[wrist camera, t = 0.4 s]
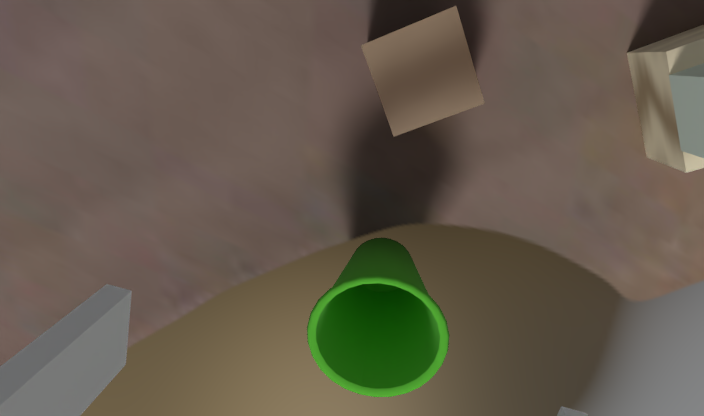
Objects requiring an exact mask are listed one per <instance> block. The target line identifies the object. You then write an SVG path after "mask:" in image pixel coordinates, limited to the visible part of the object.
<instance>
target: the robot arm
mask: <svg viewBox="0 0 704 416" xmlns="http://www.w3.org/2000/svg"><path fill="white" fill-rule="evenodd" d="M131 292H132V291H131V290H127V289H123V288H120V287H116V286H112V285H108V284H106V285H105V286H104V287H102V288H101V289H100V290H99V291H97V292H96V293H95V294H93V295H92V296H91V297H90V298H88V299H87V300H86V301H84V302H83V303H82V304H80V305H79V306H78V307H77V308H75V309H74V310H73V311H71V312H70V313H69V314H68V315H66V316H65V317H64V318H62V319H61V320H60V321H59V322H57V323H56V324H55V325H53V326H52V327H51V328H49V329H48V330H47V331H46V332H44V333H43V334H42V335H40V336H39V337H38V338H37V339H35V340H34V341H33V342H31V343H30V344H29V345H27V346H26V347H25V348H24V349H22V350H21V351H20V352H18V353H17V354H16V355H15V356H13V357H12V358H11V359H9V360H8V361H7V362H6V363H4V364H3V365H2V366H0V416H80V415H81V414H82V413H83V412H84V410H85V409H86V408H87V407H88V406H89V405H90V404H91V403H92V402H93V400H94V399H95V398H96V397H97V396H98V395H99V394H100V393H101V391H102V390H103V389H104V388H105V387H106V386H107V385H108V384H109V383H110V381H111V380H112V379H113V378H114V377H115V376H116V375H117V373H118V372H119V371H120V370H121V369H122V368H123V367H124V366H125V364H126V354H127V342H128V329H129V317H130V305H131ZM557 416H588V414H587V413H584V412H580V411H576V410H573V409H569V408H566V407H562V406H561V408H560V410H559V412H558V414H557Z"/></svg>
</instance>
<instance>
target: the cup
mask: <svg viewBox="0 0 704 416" xmlns="http://www.w3.org/2000/svg"><path fill="white" fill-rule="evenodd" d="M307 332H308V334H307V335H308V344H309V347H310V350H311V353H312V356H313V358H314V359H315V361H316V363H317V364H318V366H319V367H320V369H321V370H322V371H323V372H324V373H325V374H326V375H327V376H328V377H329V378H330V379H331V380H332V381H334V382H335V383H337V384H338V385H340V386H341V387H343V388H345V389H347V390H350V391H352V392H355V393H358V394H362V395H367V396H373V397H391V396H396V395H400V394H405V393H408V392H410V391H412V390H414V389H416V388H418V387H421V386H422V385H423V384H424V383H426V382H427V381H428V380H430V379H431V378H432V377H433V376H434V374H435V373H436V372H437V371H438V369H439V368H440V367H441V365H442V364H443V361H444V359H445V356H446V354H447V351H448V344H449V331H448V326H447V321H446V319H445V317H444V315H443V313H442V311H441V309H440V307H439V306H438V305H437V304H436V302H435V301H434V300H433V299H432V298H431V297H430V296H429V295H428V292H427V290H426V289H425V286H424V284H423V282H422V280H421V277H420V275H419V273H418V271H417V269H416V267H415V264H414V262H413V260H412V258H411V256H410V254H409V252H408V251H407V250H406V248H405V247H404V246H403V245H401V244H400V243H398V242H396V241H394V240H391V239H387V238H375V239H371V240H368V241H366V242H365V243H363V244H362V245H360V246H359V247H358V248H357V250H356V251H355V253H354V254H353V256H352V257H351V259H350V261H349V262H348V264H347V265H346V267H345V269H344V270H343V272H342V273H341V275H340V276H339V278H338V280H337V281H336V283H335V284H334V286H333V287H332V288H330V289H329V290H328V291H327V292H326V293H325V294H324V295H323V296H322V297H321V298H320V299H319V300H318V302H317V303H316V305H315V307H314V308H313V310H312V312H311V315H310V318H309V322H308V326H307Z"/></svg>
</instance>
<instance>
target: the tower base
mask: <svg viewBox="0 0 704 416" xmlns="http://www.w3.org/2000/svg"><path fill="white" fill-rule="evenodd" d="M627 56H628V62H629V67H630V72H631V77H632V82H633V88H634V93H635V98H636V103H637V109H638V114H639V119H640V124H641V129H642V135H643V140H644V145H645V150H646V155H647V157H648V158H650V159H653V160H655V161H658V162H660V163H663V164H665V165H668V166H670V167H673V168H675V169H678V170H680V171H683V172H686V173H688V172H691V171H694V170H697V169H701V168H704V158H701V157H698V156H695V155H692V154H689V153H686V152H683V151H681V147H680V141H679V135H678V129H677V123H676V117H675V110H674V104H673V98H672V92H671V86H670V79H669V75H671V74H674V73H676V72H679V71H682V70H685V69H688V68H691V67H694V66H697V65H700V64H703V63H704V25H701V26H699V27H696V28H693V29H690V30H688V31H685V32H682V33H679V34H677V35H674V36H671V37H668V38H666V39H663V40H660V41H657V42H655V43H652V44H649V45H647V46H644V47H641V48H638V49H636V50H633V51H630V52H627Z"/></svg>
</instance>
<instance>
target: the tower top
mask: <svg viewBox="0 0 704 416" xmlns="http://www.w3.org/2000/svg"><path fill="white" fill-rule="evenodd" d="M669 79H670V86H671V92H672V98H673V104H674V110H675V117H676V123H677V129H678V135H679V141H680V147H681V151H683V152H686V153H689V154H692V155H695V156H698V157H701V158H704V63H703V64H700V65H697V66H694V67H691V68H688V69H685V70H682V71H679V72H676V73H674V74H671V75H669Z"/></svg>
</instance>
